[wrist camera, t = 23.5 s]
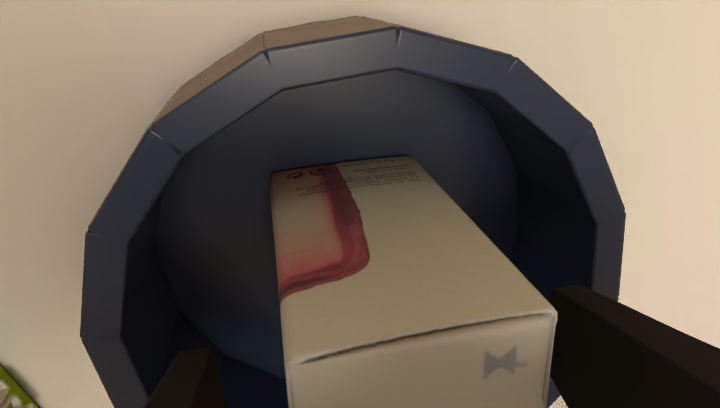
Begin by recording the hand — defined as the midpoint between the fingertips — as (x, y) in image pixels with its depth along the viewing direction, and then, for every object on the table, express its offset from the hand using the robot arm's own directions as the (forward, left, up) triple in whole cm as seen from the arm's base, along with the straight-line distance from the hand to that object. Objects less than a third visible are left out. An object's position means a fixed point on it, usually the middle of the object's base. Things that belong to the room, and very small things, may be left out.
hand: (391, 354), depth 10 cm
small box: (0, 0, -6) cm, 6 cm away
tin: (0, 0, -6) cm, 6 cm away
